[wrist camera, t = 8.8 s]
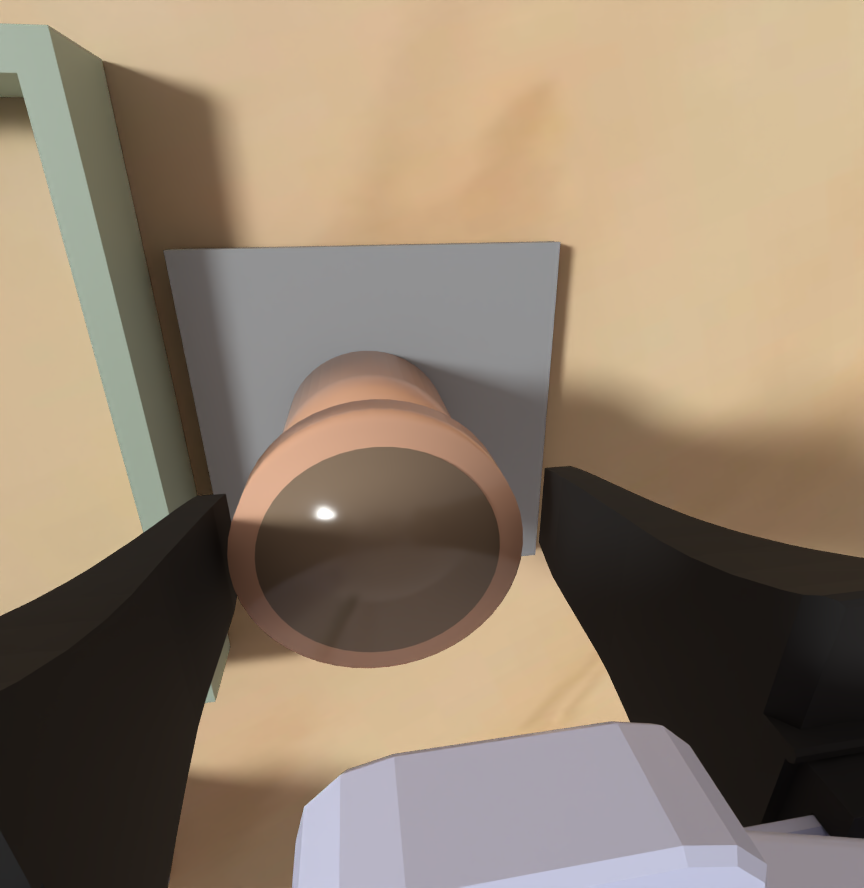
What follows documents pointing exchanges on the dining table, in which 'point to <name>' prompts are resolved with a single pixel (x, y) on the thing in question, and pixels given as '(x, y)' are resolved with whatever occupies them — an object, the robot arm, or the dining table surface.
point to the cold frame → (104, 260)
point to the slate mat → (370, 341)
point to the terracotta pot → (373, 521)
